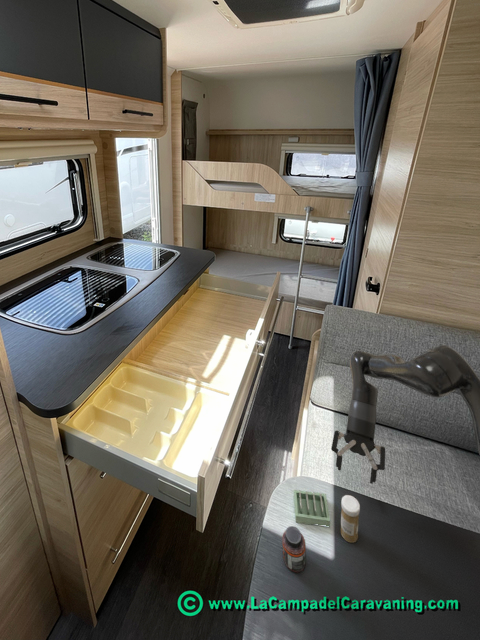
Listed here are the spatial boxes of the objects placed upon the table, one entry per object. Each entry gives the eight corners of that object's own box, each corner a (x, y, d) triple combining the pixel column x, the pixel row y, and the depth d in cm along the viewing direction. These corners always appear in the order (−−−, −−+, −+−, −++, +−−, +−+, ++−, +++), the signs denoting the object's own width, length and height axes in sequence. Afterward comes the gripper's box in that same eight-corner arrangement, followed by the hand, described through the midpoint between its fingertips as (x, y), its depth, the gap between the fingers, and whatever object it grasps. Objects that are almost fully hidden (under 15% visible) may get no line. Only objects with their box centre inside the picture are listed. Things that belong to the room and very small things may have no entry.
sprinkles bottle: (361, 537, 91) (364, 506, 86) (350, 547, 89) (352, 515, 85) (347, 521, 95) (349, 491, 90) (336, 530, 93) (337, 499, 89)
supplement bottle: (282, 545, 92) (281, 519, 88) (304, 548, 90) (304, 522, 86) (283, 571, 86) (282, 545, 82) (307, 575, 85) (306, 549, 81)
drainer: (325, 500, 101) (325, 493, 100) (330, 527, 94) (330, 520, 93) (293, 495, 103) (293, 489, 102) (295, 522, 97) (295, 515, 96)
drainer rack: (320, 502, 100) (321, 492, 99) (323, 521, 95) (323, 511, 94) (299, 499, 102) (299, 490, 100) (300, 517, 97) (300, 508, 96)
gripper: (335, 410, 101) (327, 467, 96) (388, 426, 93) (382, 490, 88) (338, 410, 107) (330, 464, 102) (388, 426, 99) (382, 485, 94)
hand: (355, 476), depth 95 cm, fingers open, 8 cm apart
